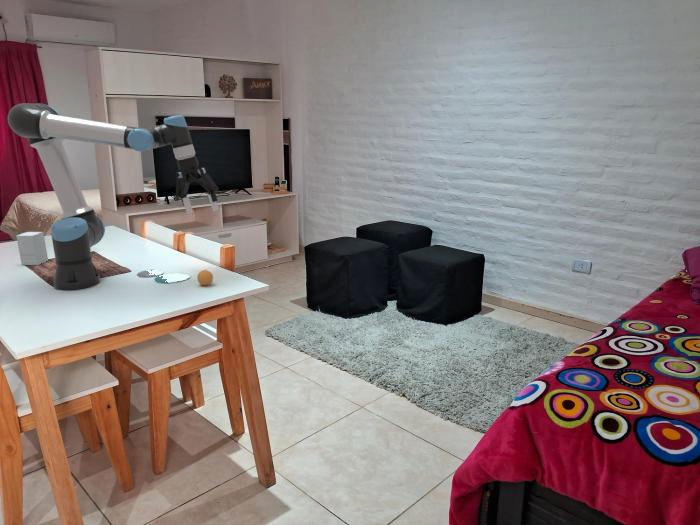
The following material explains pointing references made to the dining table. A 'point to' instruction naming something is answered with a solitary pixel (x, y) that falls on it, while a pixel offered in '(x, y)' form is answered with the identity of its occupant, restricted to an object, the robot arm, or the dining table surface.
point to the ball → (205, 277)
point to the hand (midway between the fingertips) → (202, 212)
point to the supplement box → (32, 248)
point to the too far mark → (145, 274)
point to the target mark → (160, 279)
